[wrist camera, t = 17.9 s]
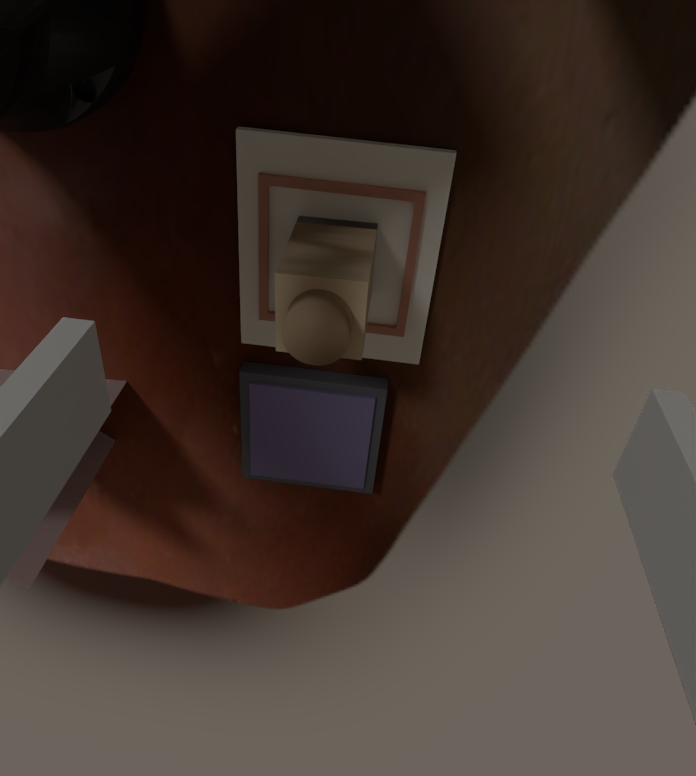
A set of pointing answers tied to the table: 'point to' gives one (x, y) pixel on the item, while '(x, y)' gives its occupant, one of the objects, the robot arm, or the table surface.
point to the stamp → (325, 289)
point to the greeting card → (62, 499)
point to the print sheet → (343, 202)
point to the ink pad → (310, 426)
